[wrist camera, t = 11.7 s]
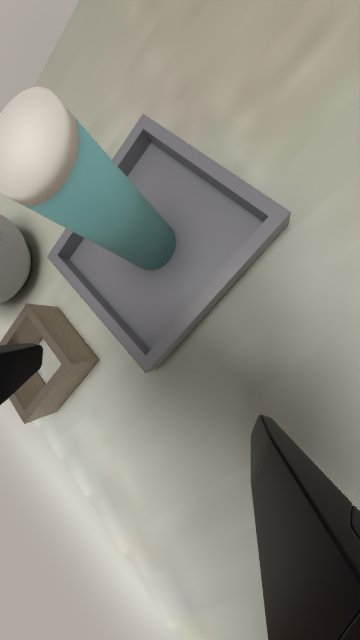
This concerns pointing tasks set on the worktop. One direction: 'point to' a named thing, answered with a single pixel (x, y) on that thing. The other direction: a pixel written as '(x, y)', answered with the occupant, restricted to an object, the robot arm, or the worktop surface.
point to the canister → (76, 181)
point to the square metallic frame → (67, 347)
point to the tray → (190, 252)
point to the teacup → (12, 259)
